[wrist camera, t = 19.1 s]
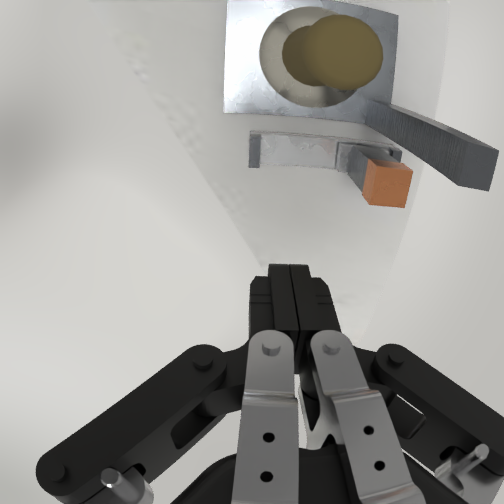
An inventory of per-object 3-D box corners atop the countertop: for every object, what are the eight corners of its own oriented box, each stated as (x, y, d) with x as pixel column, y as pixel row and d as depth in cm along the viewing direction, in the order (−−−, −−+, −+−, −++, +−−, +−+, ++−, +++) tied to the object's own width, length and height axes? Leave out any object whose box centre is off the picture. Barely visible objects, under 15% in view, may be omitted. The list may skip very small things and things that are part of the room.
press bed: (224, 110, 29) (195, 163, 14) (229, -5, 23) (203, -81, 8) (382, 124, 30) (488, 191, 15) (392, 16, 23) (513, -3, 8)
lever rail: (248, 159, 32) (248, 167, 30) (250, 130, 30) (249, 136, 28) (387, 170, 32) (396, 179, 30) (392, 144, 31) (402, 151, 29)
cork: (282, 22, 23) (301, -3, 14) (349, 30, 23) (399, 16, 14) (280, 84, 26) (296, 93, 17) (345, 90, 26) (392, 105, 17)
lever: (335, 170, 31) (358, 204, 24) (339, 140, 29) (366, 164, 22) (380, 175, 31) (413, 208, 24) (386, 146, 29) (422, 172, 23)
